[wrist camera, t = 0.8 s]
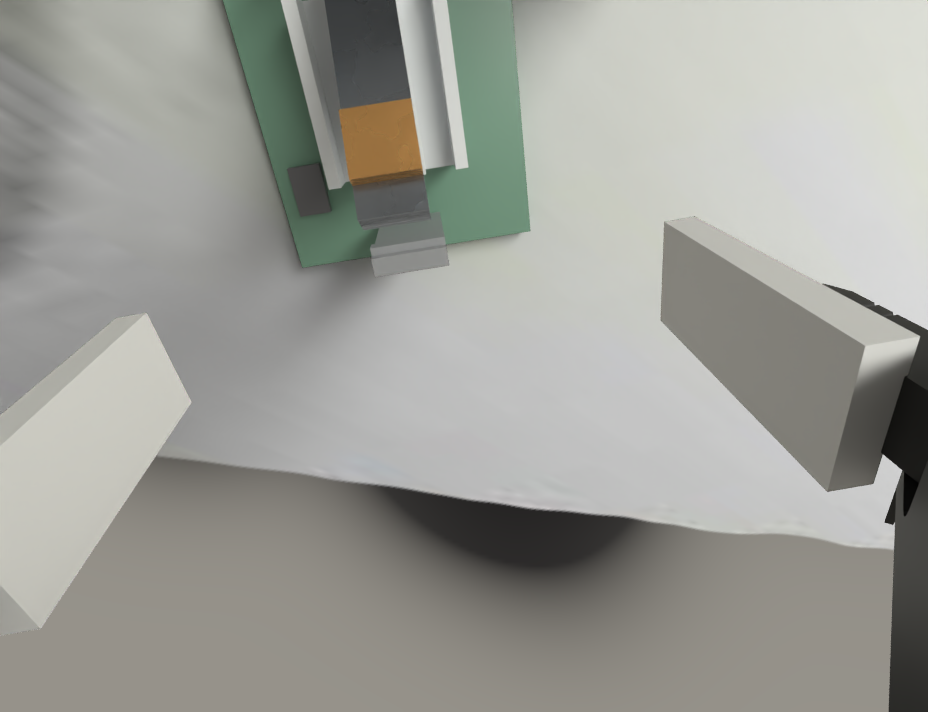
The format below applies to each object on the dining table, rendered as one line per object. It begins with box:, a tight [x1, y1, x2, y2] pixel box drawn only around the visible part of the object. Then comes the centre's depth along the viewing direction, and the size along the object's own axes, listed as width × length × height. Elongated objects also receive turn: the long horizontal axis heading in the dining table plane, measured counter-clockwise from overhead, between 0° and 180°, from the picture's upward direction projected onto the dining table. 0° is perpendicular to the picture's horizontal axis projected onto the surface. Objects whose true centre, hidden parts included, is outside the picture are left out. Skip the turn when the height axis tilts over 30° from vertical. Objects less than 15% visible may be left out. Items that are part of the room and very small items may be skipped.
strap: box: [324, 0, 431, 230], centre depth 22 cm, size 15×4×2 cm
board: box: [223, 0, 530, 277], centre depth 28 cm, size 20×16×10 cm
